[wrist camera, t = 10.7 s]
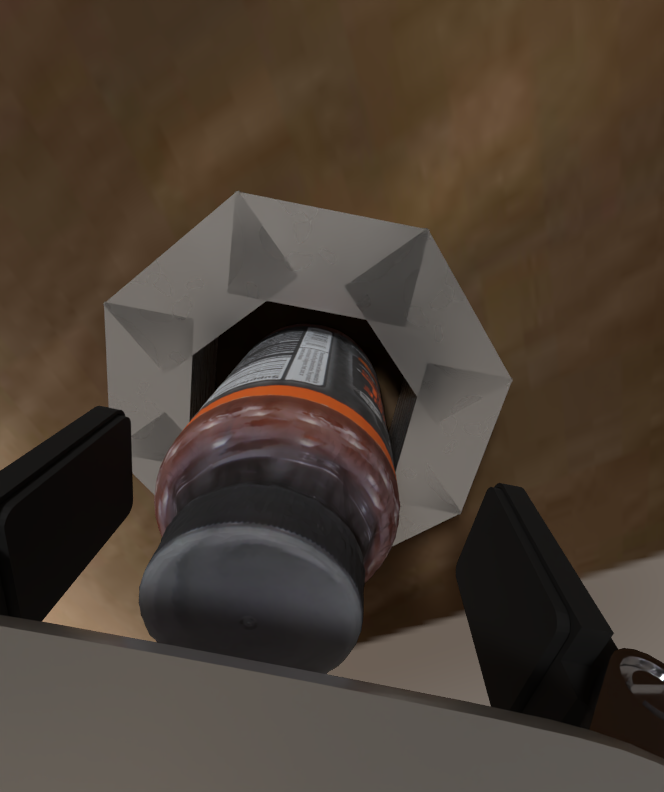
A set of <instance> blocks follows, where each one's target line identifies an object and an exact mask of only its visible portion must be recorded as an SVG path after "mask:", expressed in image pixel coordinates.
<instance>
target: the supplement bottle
mask: <svg viewBox="0 0 664 792" xmlns="http://www.w3.org/2000/svg"><path fill="white" fill-rule="evenodd" d="M154 504H155V515H156V520H157V524H158V528H159V531H160V534H161V536H162V539H161V543H160V545H159V547H158V549H157V550H156V552H155V553H154V555H153V557H152V558H151V560H150V562H149V564H148V565H147V567H146V569H145V572H144V575H143V578H142V581H141V584H140V587H139V606H140V611H141V616H142V618H143V620H144V623H145V626H146V628H147V630H148V632H149V634H150V636H152V637H153V638H154V639H155V640H156V641H157V643H162V644H168V645H173V646H179V647H184V648H189V649H195V650H200V651H205V652H211V653H216V654H221V655H227V656H232V657H237V658H243V659H248V660H253V661H259V662H264V663H269V664H274V665H280V666H285V667H290V668H296V669H301V670H306V671H311V672H317V673H322V674H327V673H328V672H329V671H331V670H333V669H334V668H336V667H337V666H339V665H340V664H341V663H342V662H343V661H344V660H345V658H346V657H347V656H348V655H349V653H350V652H351V650H352V649H353V648H354V646H355V645H356V643H357V640H358V637H359V635H360V632H361V628H362V622H363V603H364V597H363V591H364V584H365V582H367V581H368V580H369V579H370V578H371V577H372V576H373V574H374V573H375V572H376V570H377V569H379V568H380V566H381V565H382V563H383V561H384V560H385V558H386V557H387V555H388V553H389V551H390V550H391V547H392V545H393V543H394V540H395V538H396V533H397V528H398V525H399V511H400V507H401V506H400V500H399V492H398V485H397V479H396V473H395V469H394V459H393V455H392V451H391V445H390V439H389V434H388V430H387V427H386V420H385V417H384V409H383V404H382V400H381V393H380V386H379V383H378V379H377V375H376V373H375V371H374V369H373V366H372V364H371V362H370V360H369V358H368V357H367V355H366V354H365V353H364V351H363V350H362V349H361V347H360V346H359V345H357V344H356V343H355V342H354V341H353V340H352V339H351V338H350V337H348V336H347V335H345V334H343V333H342V332H340V331H338V330H335V329H333V328H330V327H326V326H323V325H317V324H309V323H307V324H306V323H303V324H294V325H289V326H286V327H283V328H280V329H278V330H276V331H273V332H271V333H270V334H268V335H267V336H266V337H264V338H263V339H261V341H260V342H258V343H257V344H256V345H255V346H254V347H253V348H252V349H251V350H250V351H249V352H248V353H247V355H246V356H245V357H244V358H243V360H242V361H241V362H240V363H239V364H238V365H237V366H236V368H235V369H234V370H233V371H232V372H231V374H230V375H229V376H228V377H227V378H226V379H225V381H224V382H223V383H222V384H221V385H220V386H219V388H218V389H217V390H216V391H215V392H214V394H213V395H212V396H211V397H210V398H209V399H208V401H207V402H206V403H205V404H204V405H203V406H202V408H201V409H200V410H199V411H198V412H197V413H196V414H195V416H194V417H193V418H192V419H191V421H190V422H189V423H188V425H187V426H186V427H185V428H184V429H183V431H182V432H181V433H180V434H179V436H178V437H177V438H176V439H175V441H174V443H173V444H172V446H171V447H170V448H169V450H168V452H167V454H166V456H165V458H164V460H163V462H162V464H161V466H160V469H159V473H158V475H157V480H156V487H155V501H154Z"/></svg>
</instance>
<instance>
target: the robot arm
mask: <svg viewBox="0 0 664 792" xmlns="http://www.w3.org/2000/svg"><path fill="white" fill-rule="evenodd" d="M132 504H133V482H132V442H131V420H130V418H129V417H125V413H124V412H123V411H122V410H119V409H113V408H108V407H103V406H97V407H95V408H93V409H92V410H90V411H89V412H87V413H86V414H84V415H83V416H81V417H80V418H78V419H77V420H75V421H74V422H72V423H71V424H69V425H68V426H66V427H65V428H63V429H62V430H60V431H59V432H57V433H56V434H55V435H53V436H52V437H50V438H49V439H47V440H46V441H44V442H43V443H41V444H40V445H38V446H37V447H35V448H34V449H32V450H31V451H29V452H28V453H26V454H25V455H23V456H22V457H20V458H19V459H17V460H16V461H14V462H13V463H11V464H10V465H8V466H7V467H5V468H4V469H2V470H1V471H0V792H664V663H662V662H660V661H659V660H657V659H655V658H653V657H652V656H650V655H648V654H646V653H643V652H640V651H637V650H634V649H626V648H622V649H619V650H618V648H617V647H616V645H615V643H614V642H613V640H612V638H611V637H612V635H613V631H612V630H611V628H610V626H609V625H608V623H607V622H606V620H605V618H604V617H603V615H602V614H601V612H600V610H599V609H598V607H597V605H596V604H595V603H594V601H593V599H592V598H591V596H590V594H589V593H588V591H587V590H586V588H585V586H584V585H583V583H582V581H581V580H580V578H579V577H578V575H577V573H576V572H575V570H574V569H573V567H572V565H571V564H570V562H569V561H568V559H567V557H566V556H565V554H564V553H563V551H562V549H561V548H560V546H559V545H558V543H557V541H556V540H555V538H554V537H553V535H552V533H551V532H550V530H549V529H548V527H547V525H546V524H545V522H544V521H543V519H542V517H541V516H540V514H539V512H538V511H537V509H536V508H535V506H534V504H533V503H532V501H531V500H530V498H529V496H528V495H527V493H526V492H525V490H524V489H523V488H522V487H518V486H512V485H507V484H502V483H498V484H497V485H496V486H495V487H494V488H493V487H490V488H489V489H488V490H487V492H486V494H485V496H484V499H483V501H482V504H481V506H480V509H479V511H478V513H477V516H476V518H475V521H474V523H473V526H472V528H471V531H470V533H469V535H468V538H467V540H466V543H465V545H464V548H463V550H462V552H461V555H460V557H459V560H458V562H457V565H456V579H457V583H458V586H459V590H460V594H461V597H462V601H463V605H464V609H465V612H466V616H467V620H468V623H469V627H470V631H471V634H472V638H473V642H474V645H475V649H476V653H477V656H478V660H479V664H480V667H481V671H482V675H483V679H484V682H485V686H486V690H487V693H488V697H489V701H490V704H491V707H489V706H485V705H480V704H475V703H471V702H466V701H461V700H456V699H451V698H445V697H440V696H435V695H430V694H425V693H420V692H414V691H410V690H405V689H399V688H394V687H389V686H384V685H379V684H374V683H368V682H363V681H358V680H353V679H348V678H343V677H338V676H332V675H327V674H322V673H317V672H311V671H306V670H301V669H296V668H290V667H285V666H280V665H274V664H269V663H264V662H259V661H253V660H248V659H243V658H237V657H232V656H227V655H221V654H216V653H211V652H205V651H200V650H195V649H189V648H184V647H179V646H173V645H168V644H162V643H157V642H151V641H146V640H140V639H135V638H129V637H124V636H118V635H113V634H107V633H102V632H96V631H91V630H85V629H80V628H74V627H69V626H63V625H58V624H52V623H46V622H42V620H43V619H44V618H45V617H46V616H47V614H48V613H49V612H50V611H51V609H52V608H53V607H54V606H55V604H56V603H57V602H58V601H59V600H60V598H61V597H62V596H63V595H64V593H65V592H66V591H67V590H68V588H69V587H70V586H71V585H72V584H73V582H74V581H75V580H76V579H77V577H78V576H79V575H80V574H81V572H82V571H83V570H84V569H85V568H86V566H87V565H88V564H89V563H90V561H91V560H92V559H93V558H94V557H95V555H96V554H97V553H98V552H99V550H100V549H101V548H102V547H103V545H104V544H105V543H106V542H107V541H108V539H109V538H110V537H111V536H112V534H113V533H114V532H115V531H116V529H117V528H118V527H119V526H120V525H121V523H122V522H123V521H124V520H125V518H126V517H127V516H128V514H129V513H130V511H131V508H132Z"/></svg>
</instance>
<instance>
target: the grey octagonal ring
mask: <svg viewBox="0 0 664 792" xmlns="http://www.w3.org/2000/svg"><path fill="white" fill-rule="evenodd" d="M429 231H430V230H428V228H417V227H412V226H407V225H402V224H397V223H392V222H387V221H382V220H377V219H372V218H367V217H362V216H357V215H352V214H347V213H342V212H337V211H332V210H327V209H322V208H317V207H312V206H307V205H301V204H296V203H291V202H286V201H281V200H276V199H271V198H266V197H261V196H256V195H251V194H247V193H244V192H241V191H237V192H236V191H235V194H234V195H232V196H231V197H230V198H229V199H228V200H226V201H225V202H224V203H223V204H222V205H220V206H219V207H218V208H217V209H216V210H215V211H213V212H212V213H211V214H210V215H209V216H207V217H206V218H205V219H204V220H203V221H201V222H200V223H199V224H198V225H197V226H196V227H194V228H193V229H192V230H191V231H190V232H188V233H187V234H186V235H185V236H184V237H183V238H181V239H180V240H179V241H178V242H177V243H175V244H174V245H173V246H172V247H171V248H169V249H168V250H167V251H166V252H165V253H164V254H162V255H161V256H160V257H159V258H158V259H156V260H155V261H154V262H153V263H152V264H150V265H149V266H148V267H147V268H146V269H145V270H143V271H142V272H141V273H140V274H139V275H137V276H136V277H135V278H134V279H133V280H132V281H130V282H129V283H128V284H127V285H126V286H124V287H123V288H122V289H121V290H120V291H118V292H117V293H116V294H115V295H114V296H113V297H111V298H110V299H109V300H108V301H106V302H104V304H103V305H104V310H105V333H106V355H107V377H108V400H109V408H113V409H119V410H122V411H123V412H124V413H125V417H129V418H130V420H131V442H132V473H133V474H134V475H135V476H136V477H137V478H138V479H139V480H140V481H141V482H142V483H143V484H144V485H145V486H146V487H147V488H148V489H149V490H150V491H151V492H152V493H153V494H154V495H155V487H156V480H157V475H158V473H159V469H160V466H161V464H162V462H163V460H164V458H165V456H166V454H167V452H168V450H169V448H170V447H171V446H172V444H173V443H174V441H175V439H176V438H177V437H178V436H179V434H180V433H181V432H182V431H183V429H184V428H185V427H186V426H187V425H188V423H189V422H190V421H191V419H192V418H193V417H194V416H195V414H196V413H197V412H198V411H199V410H200V409H201V408H202V406H203V405H204V404H205V403H206V402H207V401H208V399H209V398H210V397H211V396H212V395H213V394H214V392H215V379H216V365H217V351H218V337H219V335H221V334H222V333H224V332H225V331H226V330H228V329H229V328H230V327H232V326H233V325H234V324H236V323H237V322H239V321H240V320H241V319H243V318H244V317H245V316H247V315H248V314H249V313H251V312H252V311H253V310H255V309H256V308H258V307H259V306H260V305H262V304H263V303H264V302H266V301H271V302H276V303H281V304H286V305H292V306H297V307H302V308H307V309H313V310H318V311H323V312H328V313H334V314H339V315H344V316H349V317H355V318H360V319H365V320H367V321H368V323H369V324H370V326H371V327H372V329H373V330H374V332H375V334H376V335H377V337H378V338H379V340H380V341H381V343H382V344H383V346H384V347H385V349H386V350H387V352H388V353H389V355H390V356H391V358H392V359H393V361H394V362H395V364H396V365H397V367H398V368H399V370H400V371H401V373H402V374H403V376H404V379H403V383H402V387H401V391H400V394H399V398H398V402H397V405H396V409H395V413H394V416H393V420H392V424H391V428H390V431H389V439H390V445H391V451H392V455H393V459H394V469H395V473H396V479H397V485H398V492H399V500H400V506H401V507H400V511H399V525H398V528H397V533H396V538H395V540H394V543H393V545H392V546H394V545H396V544H398V543H400V542H402V541H404V540H406V539H408V538H411V537H413V536H415V535H417V534H419V533H421V532H423V531H425V530H427V529H429V528H431V527H433V526H435V525H437V524H439V523H442V522H444V521H446V520H448V519H450V518H452V517H454V516H456V515H458V514H461V513H462V512H461V511H462V508H463V506H464V503H465V501H466V498H467V495H468V493H469V490H470V488H471V485H472V482H473V480H474V477H475V475H476V472H477V470H478V467H479V464H480V462H481V459H482V457H483V454H484V451H485V449H486V446H487V444H488V441H489V438H490V436H491V433H492V431H493V428H494V425H495V423H496V420H497V418H498V415H499V412H500V410H501V407H502V405H503V402H504V400H505V397H506V394H507V392H508V389H509V387H510V384H511V382H512V378H511V377H510V376H509V374H508V372H507V370H506V368H505V367H504V365H503V363H502V361H501V359H500V358H499V356H498V354H497V352H496V350H495V349H494V347H493V345H492V343H491V342H490V340H489V338H488V336H487V334H486V333H485V331H484V329H483V327H482V325H481V324H480V322H479V320H478V318H477V316H476V315H475V313H474V311H473V309H472V307H471V306H470V304H469V302H468V300H467V298H466V297H465V295H464V293H463V291H462V289H461V288H460V286H459V284H458V282H457V281H456V279H455V277H454V275H453V273H452V272H451V270H450V268H449V266H448V264H447V263H446V261H445V259H444V257H443V255H442V254H441V252H440V250H439V248H438V246H437V245H436V243H435V241H434V239H433V237H432V236H431V234H430V232H429Z"/></svg>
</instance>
